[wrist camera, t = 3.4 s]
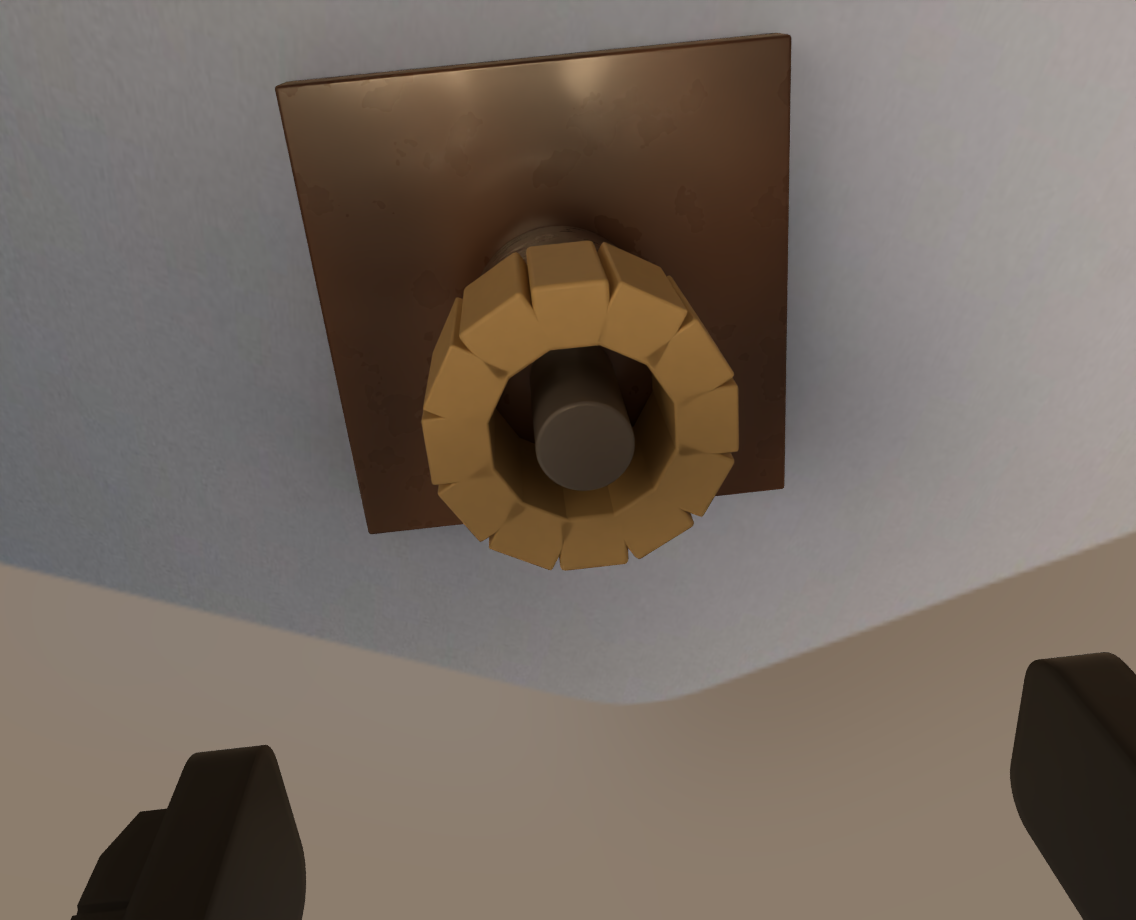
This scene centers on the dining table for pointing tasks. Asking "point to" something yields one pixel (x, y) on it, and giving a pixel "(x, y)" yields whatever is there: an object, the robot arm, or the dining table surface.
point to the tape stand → (545, 239)
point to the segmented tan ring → (509, 464)
